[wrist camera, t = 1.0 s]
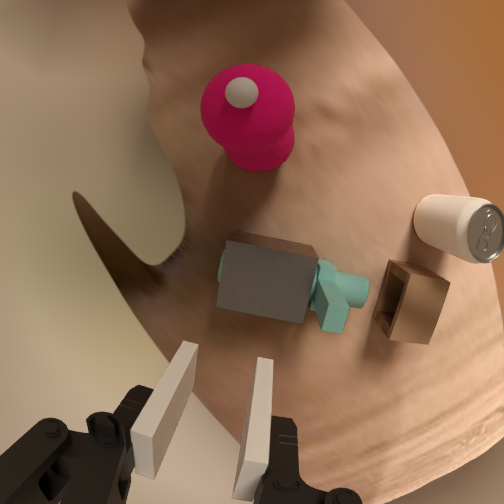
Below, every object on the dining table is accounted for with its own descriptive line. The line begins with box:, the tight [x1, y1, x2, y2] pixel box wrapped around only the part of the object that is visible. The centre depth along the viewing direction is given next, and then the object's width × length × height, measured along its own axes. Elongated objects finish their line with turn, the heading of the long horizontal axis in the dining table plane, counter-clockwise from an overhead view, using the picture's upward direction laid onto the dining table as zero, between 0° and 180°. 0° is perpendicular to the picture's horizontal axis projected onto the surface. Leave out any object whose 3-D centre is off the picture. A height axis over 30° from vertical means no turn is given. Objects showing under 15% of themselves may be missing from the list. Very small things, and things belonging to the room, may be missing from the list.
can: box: [414, 194, 504, 264], centre depth 27 cm, size 6×6×12 cm
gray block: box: [216, 231, 319, 324], centre depth 33 cm, size 7×9×7 cm
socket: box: [373, 260, 450, 344], centre depth 32 cm, size 8×6×7 cm
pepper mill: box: [201, 64, 295, 172], centre depth 24 cm, size 7×7×20 cm
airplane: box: [218, 249, 369, 334], centre depth 29 cm, size 16×5×11 cm, turn 79°
